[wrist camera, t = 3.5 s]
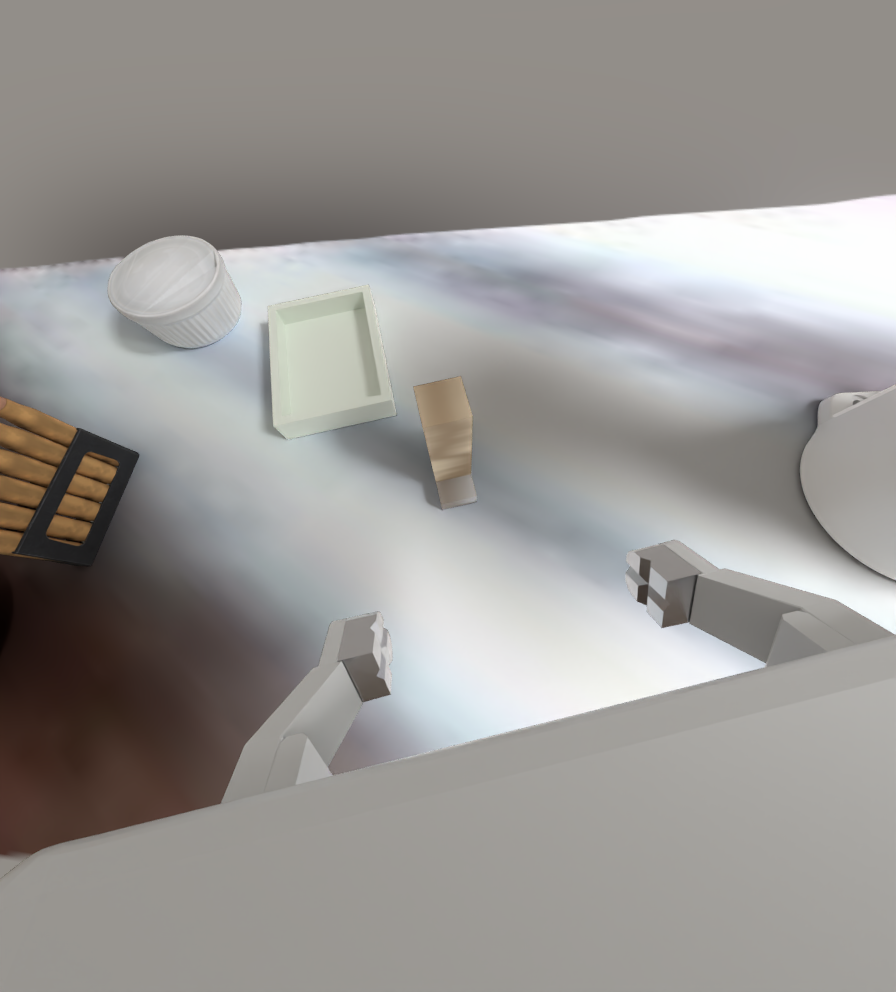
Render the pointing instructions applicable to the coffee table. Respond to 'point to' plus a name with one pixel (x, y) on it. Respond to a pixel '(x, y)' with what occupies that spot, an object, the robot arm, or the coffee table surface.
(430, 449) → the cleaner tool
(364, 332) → the tray
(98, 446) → the ammunition clip
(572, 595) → the coffee table surface
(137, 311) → the ramekin
